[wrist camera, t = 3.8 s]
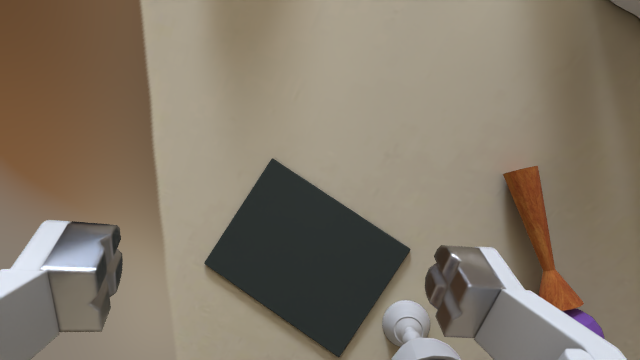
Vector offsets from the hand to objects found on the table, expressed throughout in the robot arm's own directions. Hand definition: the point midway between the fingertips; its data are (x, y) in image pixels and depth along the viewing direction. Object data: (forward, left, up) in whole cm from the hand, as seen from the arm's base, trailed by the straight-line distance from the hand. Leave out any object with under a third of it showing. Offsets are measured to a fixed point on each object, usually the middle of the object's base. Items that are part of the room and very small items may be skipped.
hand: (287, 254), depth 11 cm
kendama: (-20, +7, -36) cm, 42 cm away
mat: (+4, +5, -36) cm, 36 cm away
